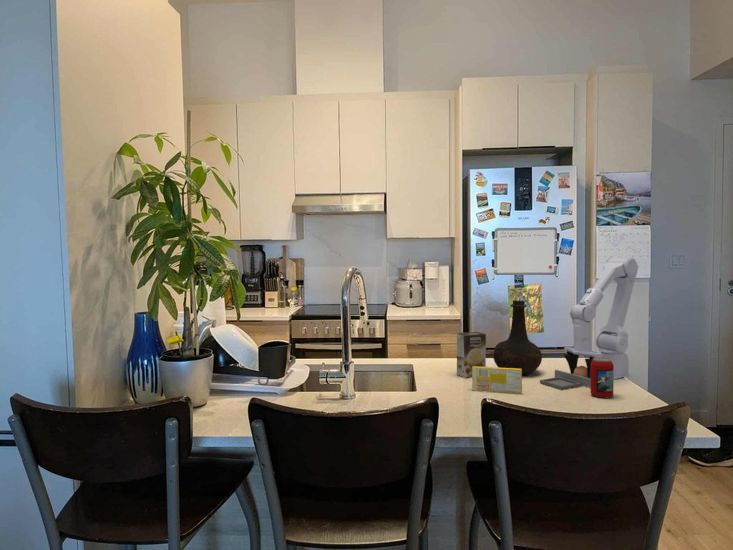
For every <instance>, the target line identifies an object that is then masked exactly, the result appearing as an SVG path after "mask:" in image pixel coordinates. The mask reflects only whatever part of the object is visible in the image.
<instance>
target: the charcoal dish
mask: <svg viewBox="0 0 733 550" xmlns="http://www.w3.org/2000/svg"><path fill="white" fill-rule="evenodd" d="M540 383H541V385H544V386H547V385H548V387H550V386H551V388H553V387H554V389H557V390H560V389H561V390H560V391H564V389H565V390H570V389H569V388H571V389H574V387H576V388H580V387H579V386H581V383H579V382H575V381H572V380H568V379H565V378H561V377H555V376H554V377H551V378H549V377H548V378H544V379H539V384H540ZM581 387H582V386H581Z"/></svg>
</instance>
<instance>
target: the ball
mask: <svg viewBox="0 0 733 550" xmlns="http://www.w3.org/2000/svg"><path fill="white" fill-rule="evenodd" d="M574 374H575V375H579V376H582V377H586V378H588V376H587V366H585V365H579V366H578V365H577V368H575V370H574Z"/></svg>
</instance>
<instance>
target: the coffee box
mask: <svg viewBox="0 0 733 550" xmlns="http://www.w3.org/2000/svg"><path fill="white" fill-rule="evenodd" d="M486 347H487V335H486V333H483V332H478V331H473V332H472V331H471V332H469V331H468V332H457V333H456V375H457V374H458V375H457V376H459V375H460V377H461V376H462V378H463V377H464V379H468V378H467V377H471V378H472V367H473V366H477V367H487V366H486V365H487V363H486V362H487V361H486V359H487V357H486V356H487V355H486V354H487V352H486V351H487V350H486V349H487V348H486Z"/></svg>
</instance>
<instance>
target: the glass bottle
mask: <svg viewBox="0 0 733 550" xmlns="http://www.w3.org/2000/svg"><path fill="white" fill-rule="evenodd" d="M525 302H526V301H525V300H516V299H515V300H512V304H510V307H511V308H512V317H511V326H510V331H509V332H510V333H509V336H508V338H507V339H506V340H504V341H500V342H498V343H497V344H496V345H495V347H494V349H493V353H492V354H493V355H492V356H493V361H494V363H495V365H496V366H497V368H517V369H522V376H527V375H530V374H532V373H535V371H537V370H538V368H540V366H541V364H542V361H543V355H542V351H541V349H540V347H538V345H537V344H535V343H533V342H532V341H530V339H529V337H528V333H527V326H526V313H525V310H526V309H525V308H527V307H528V305H526V304H525Z"/></svg>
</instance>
